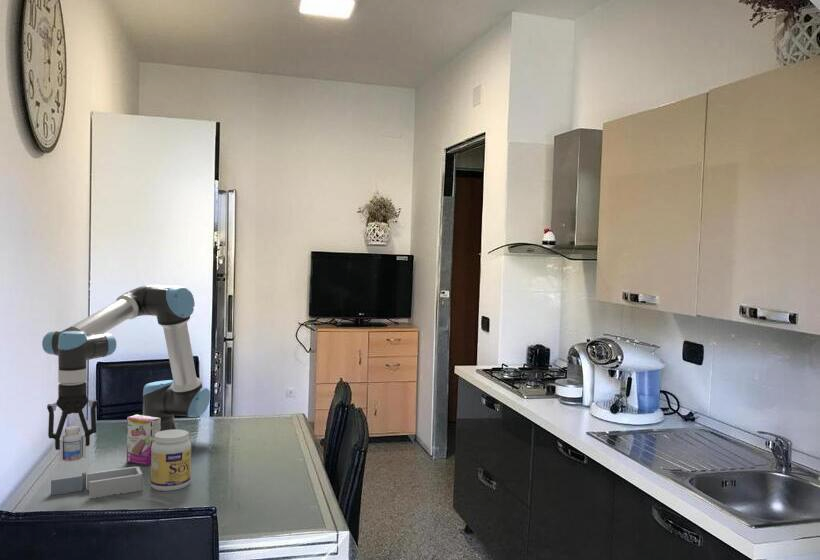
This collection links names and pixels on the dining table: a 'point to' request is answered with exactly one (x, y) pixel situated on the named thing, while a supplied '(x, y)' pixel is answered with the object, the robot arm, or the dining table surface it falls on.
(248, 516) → the dining table surface
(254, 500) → the dining table surface
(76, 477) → the cover flap
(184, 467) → the supplement tub
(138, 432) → the candy bar box
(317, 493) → the dining table surface
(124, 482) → the open rectangular tray
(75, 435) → the pill bottle
